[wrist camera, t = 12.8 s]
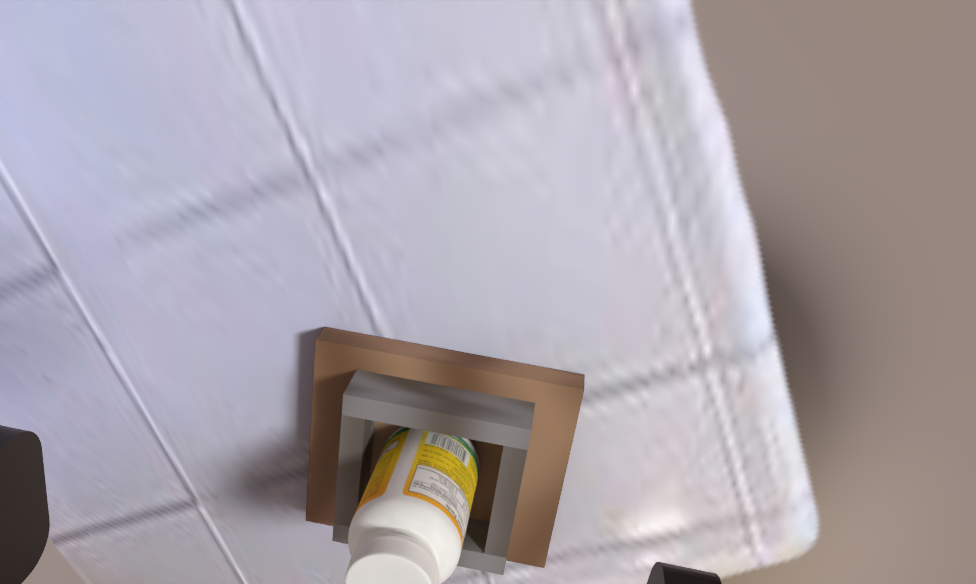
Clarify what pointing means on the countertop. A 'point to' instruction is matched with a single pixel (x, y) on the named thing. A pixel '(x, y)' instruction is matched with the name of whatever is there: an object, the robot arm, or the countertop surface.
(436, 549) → the supplement bottle
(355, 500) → the socket stand
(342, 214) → the countertop surface
